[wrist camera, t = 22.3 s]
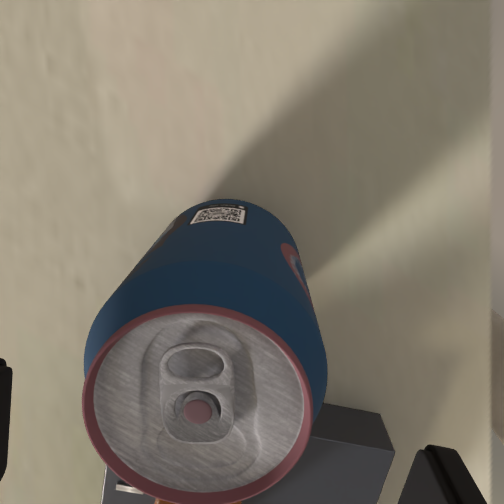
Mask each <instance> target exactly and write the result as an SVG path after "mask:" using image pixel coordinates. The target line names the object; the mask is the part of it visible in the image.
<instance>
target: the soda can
mask: <svg viewBox="0 0 504 504" xmlns="http://www.w3.org/2000/svg"><path fill="white" fill-rule="evenodd" d="M84 374H85V382H84V387H83V393H82V412H83V418H84V423H85V427H86V430H87V433H88V436H89V438H90V440H91V442H92V444H93V446H94V448H95V450H96V451H97V453H98V454H99V456H100V457H101V459H102V460H103V461H104V462H105V464H106V465H107V466H108V467H109V468H110V469H111V470H112V471H113V472H114V473H115V474H116V475H117V476H119V477H120V478H121V479H122V480H124V481H125V482H126V483H128V484H129V485H131V486H132V487H134V488H136V489H137V490H139V491H141V492H143V493H145V494H147V495H150V496H152V497H155V498H157V499H160V500H163V501H167V502H171V503H175V504H230V503H235V502H238V501H242V500H245V499H248V498H250V497H253V496H255V495H257V494H259V493H261V492H263V491H265V490H266V489H268V488H270V487H271V486H273V485H274V484H275V483H277V482H278V481H279V480H281V479H282V478H283V477H284V476H285V475H286V474H287V473H288V472H289V471H290V470H291V469H292V468H293V467H294V465H295V464H296V463H297V461H298V460H299V459H300V457H301V456H302V454H303V452H304V450H305V448H306V446H307V443H308V441H309V437H310V434H311V429H312V424H313V423H314V421H315V419H316V417H317V415H318V413H319V411H320V409H321V406H322V403H323V400H324V396H325V391H326V386H327V359H326V353H325V348H324V345H323V341H322V337H321V334H320V330H319V326H318V323H317V319H316V315H315V312H314V308H313V304H312V301H311V297H310V293H309V289H308V286H307V282H306V278H305V275H304V271H303V267H302V264H301V260H300V256H299V253H298V249H297V247H296V244H295V242H294V240H293V238H292V236H291V234H290V233H289V231H288V230H287V229H286V227H285V226H284V225H283V224H282V223H281V222H280V221H279V220H278V219H277V218H276V217H275V216H274V215H272V214H271V213H269V212H268V211H266V210H265V209H263V208H261V207H259V206H257V205H254V204H252V203H249V202H245V201H240V200H234V199H218V200H212V201H207V202H203V203H200V204H198V205H195V206H193V207H191V208H189V209H188V210H186V211H184V212H183V213H181V214H180V215H179V216H178V217H177V218H176V219H174V220H173V221H172V223H171V224H170V225H169V226H168V227H167V228H166V230H165V231H164V232H163V233H162V235H161V236H160V237H159V238H158V239H157V241H156V242H155V243H154V244H153V246H152V247H151V248H150V249H149V250H148V252H147V253H146V254H145V255H144V257H143V258H142V259H141V260H140V261H139V263H138V264H137V265H136V266H135V268H134V269H133V270H132V271H131V272H130V274H129V275H128V276H127V277H126V279H125V280H124V281H123V282H122V283H121V285H120V286H119V287H118V288H117V290H116V291H115V292H114V293H113V294H112V296H111V297H110V298H109V299H108V301H107V302H106V303H105V304H104V306H103V307H102V308H101V310H100V311H99V313H98V315H97V316H96V318H95V320H94V322H93V324H92V327H91V329H90V332H89V335H88V338H87V342H86V347H85V354H84Z"/></svg>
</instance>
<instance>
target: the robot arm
mask: <svg viewBox="0 0 504 504" xmlns="http://www.w3.org/2000/svg"><path fill="white" fill-rule="evenodd" d="M12 374H13V373H12V368H10V367H7V366H6V361H5V360H4V359H1V358H0V481H1V479H2V477H3V475H4V473H5V470H6V467H7V456H8V440H9V424H10V407H11V391H12ZM398 504H487V503H486V501H485V499H484V497H483V496H482V494H481V492H480V490H479V489H478V487H477V485H476V483H475V482H474V480H473V478H472V476H471V475H470V473H469V471H468V469H467V468H466V466H465V464H464V463H463V461H462V459H461V457H460V456H459V454H458V453H457V451H456V450H454V449H450V448H445V447H440V446H435V445H427V446H426V447H425V449H424V450H419V451H418V452H417V454H416V456H415V458H414V461H413V464H412V466H411V469H410V472H409V475H408V477H407V480H406V483H405V485H404V488H403V491H402V493H401V496H400V499H399V501H398Z"/></svg>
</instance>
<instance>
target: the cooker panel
mask: <svg viewBox="0 0 504 504" xmlns="http://www.w3.org/2000/svg"><path fill="white" fill-rule="evenodd" d="M394 455H395V450H394V448H393V445H392V443H391V440H390V438H389V435H388V433H387V430H386V428H385V425H384V423H383V420H382V418H381V415H380V414H377V413H372V412H367V411H361V410H356V409H351V408H345V407H340V406H335V405H330V404H324V403H322V406H321V409H320V411H319V413H318V415H317V417H316V419H315V421H314V423H313V424H312V429H311V434H310V437H309V441H308V443H307V446H306V448H305V450H304V452H303V454H302V456H301V457H300V459H299V460H298V461H297V463H296V464H295V465H294V467H293V468H292V469H291V470H290V471H289V472H288V473H287V474H286V475H285V476H284V477H283V478H282V479H281V480H279V481H278V482H277V483H275V484H274V485H273V486H271V487H270V488H268V489H266V490H265V491H263V492H261V493H259V494H257V495H255V496H253V497H250V498H248V499H245V500H242V504H377V501H378V498H379V496H380V493H381V490H382V487H383V485H384V482H385V479H386V476H387V474H388V471H389V468H390V466H391V463H392V460H393V457H394ZM154 502H155V497H152V496H150V495H147V494H145V493H143V492H141V491H139V490H137V489H136V488H134V487H132V486H131V485H129V484H128V483H126V482H125V481H124V480H122V479H121V478H120V477H119V476H117V475H116V474H115V473H114V472H113V471H112V470H111V469H110V468H109V467H108V466H107V465H106V468H105V476H104V483H103V491H102V498H101V504H154Z"/></svg>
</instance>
